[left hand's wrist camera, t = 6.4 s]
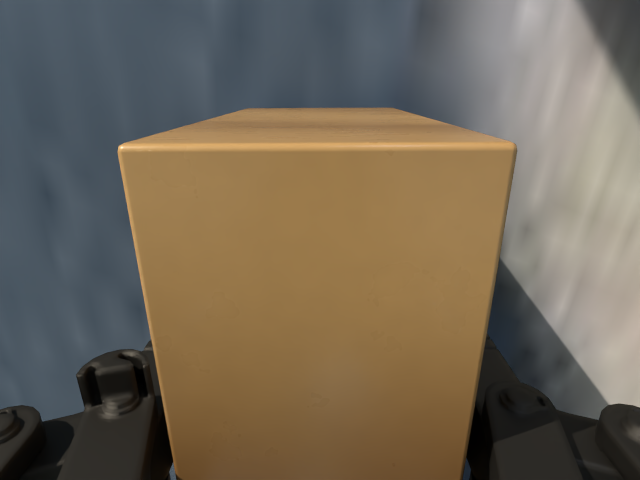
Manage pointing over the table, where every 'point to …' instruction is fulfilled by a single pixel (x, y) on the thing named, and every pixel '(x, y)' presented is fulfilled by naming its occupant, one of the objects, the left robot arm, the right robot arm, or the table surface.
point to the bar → (318, 289)
